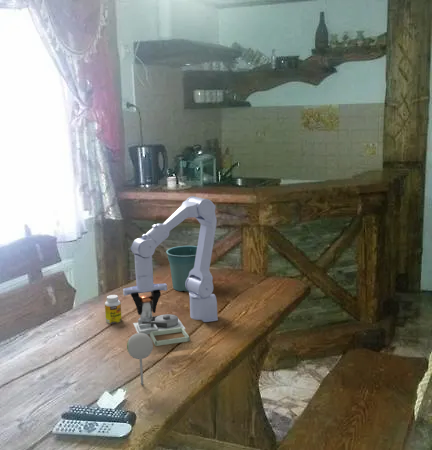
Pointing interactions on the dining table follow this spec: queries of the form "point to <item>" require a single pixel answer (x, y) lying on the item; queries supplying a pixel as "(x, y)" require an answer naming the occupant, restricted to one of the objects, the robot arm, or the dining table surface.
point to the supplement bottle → (113, 309)
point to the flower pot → (181, 265)
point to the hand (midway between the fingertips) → (146, 312)
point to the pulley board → (158, 324)
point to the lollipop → (140, 348)
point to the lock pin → (146, 307)
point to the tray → (169, 341)
